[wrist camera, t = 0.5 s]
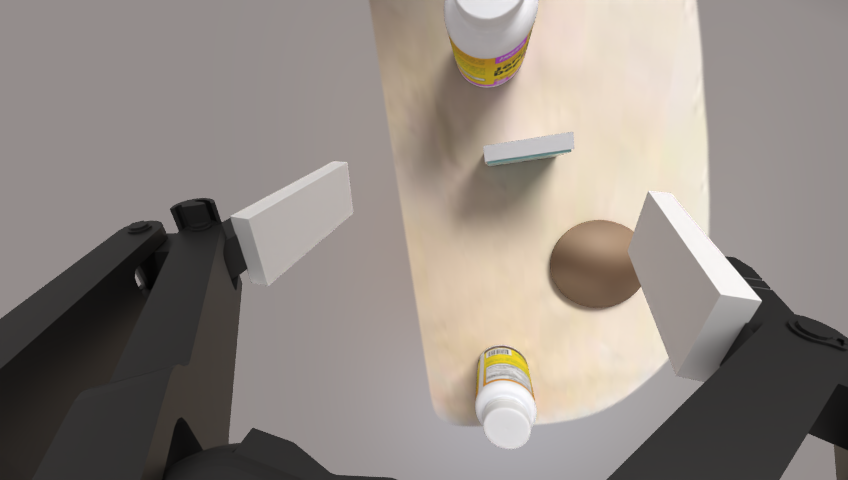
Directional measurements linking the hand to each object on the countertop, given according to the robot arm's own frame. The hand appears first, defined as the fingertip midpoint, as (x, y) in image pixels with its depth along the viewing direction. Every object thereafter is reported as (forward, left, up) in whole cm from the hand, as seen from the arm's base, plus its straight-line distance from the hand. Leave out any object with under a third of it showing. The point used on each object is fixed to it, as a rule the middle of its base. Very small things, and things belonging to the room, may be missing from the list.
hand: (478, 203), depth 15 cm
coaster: (+9, +10, -21) cm, 25 cm away
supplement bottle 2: (+20, 0, -21) cm, 29 cm away
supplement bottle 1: (-13, +2, -21) cm, 25 cm away
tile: (-3, +4, -21) cm, 21 cm away
